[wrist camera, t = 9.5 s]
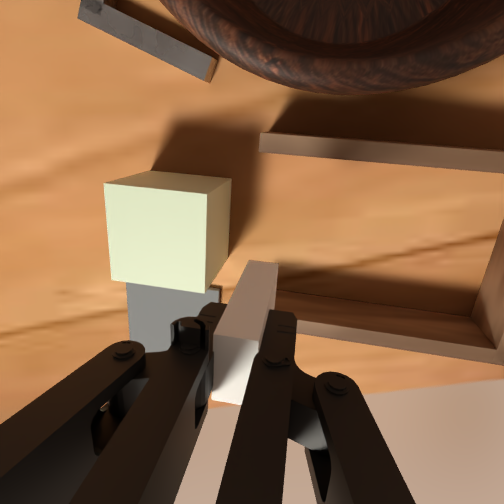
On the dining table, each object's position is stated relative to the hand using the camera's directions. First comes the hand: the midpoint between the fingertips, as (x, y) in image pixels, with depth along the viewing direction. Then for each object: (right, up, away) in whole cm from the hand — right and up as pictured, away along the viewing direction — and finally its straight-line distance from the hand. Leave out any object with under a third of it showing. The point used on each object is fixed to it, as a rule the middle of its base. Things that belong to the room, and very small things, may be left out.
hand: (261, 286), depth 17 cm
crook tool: (-7, +19, +8) cm, 21 cm away
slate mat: (-8, -5, +16) cm, 19 cm away
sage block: (-6, +5, +12) cm, 15 cm away
